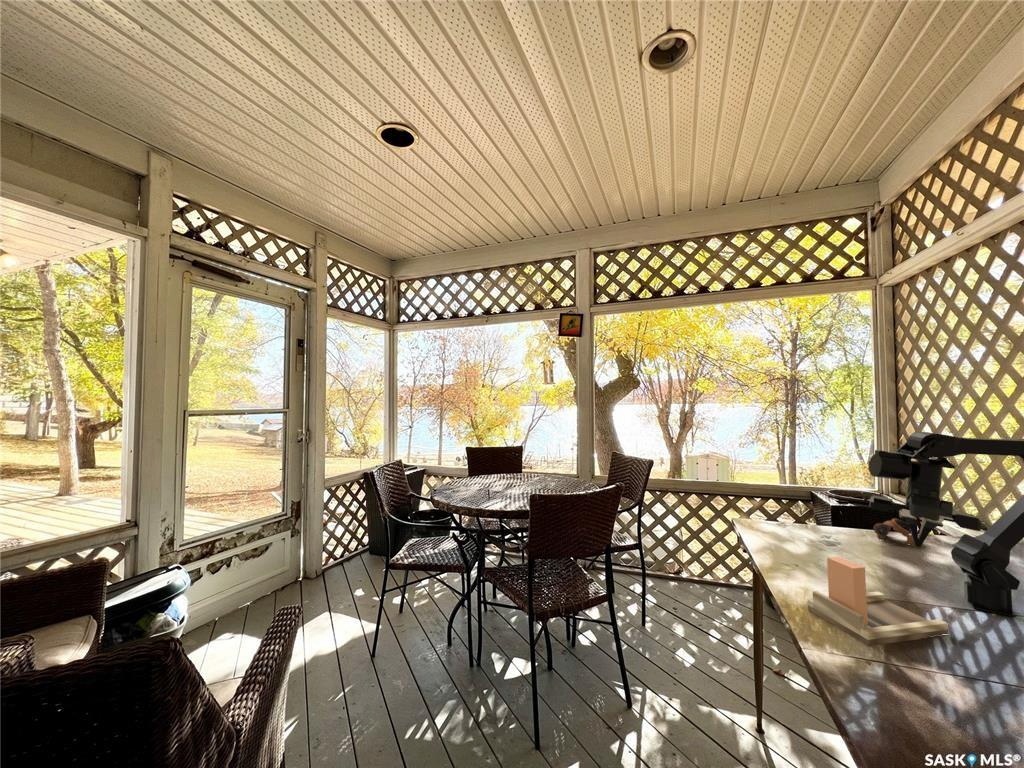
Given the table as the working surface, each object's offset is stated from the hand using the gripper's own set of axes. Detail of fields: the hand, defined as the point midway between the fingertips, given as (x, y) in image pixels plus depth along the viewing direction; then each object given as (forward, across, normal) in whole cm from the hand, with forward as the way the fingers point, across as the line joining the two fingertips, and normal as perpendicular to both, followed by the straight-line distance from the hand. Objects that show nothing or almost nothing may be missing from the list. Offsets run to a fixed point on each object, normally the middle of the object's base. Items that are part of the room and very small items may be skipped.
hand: (917, 546), depth 99 cm
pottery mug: (+11, -1, +50) cm, 52 cm away
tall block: (+14, -12, -23) cm, 30 cm away
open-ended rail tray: (+15, -7, -18) cm, 25 cm away
